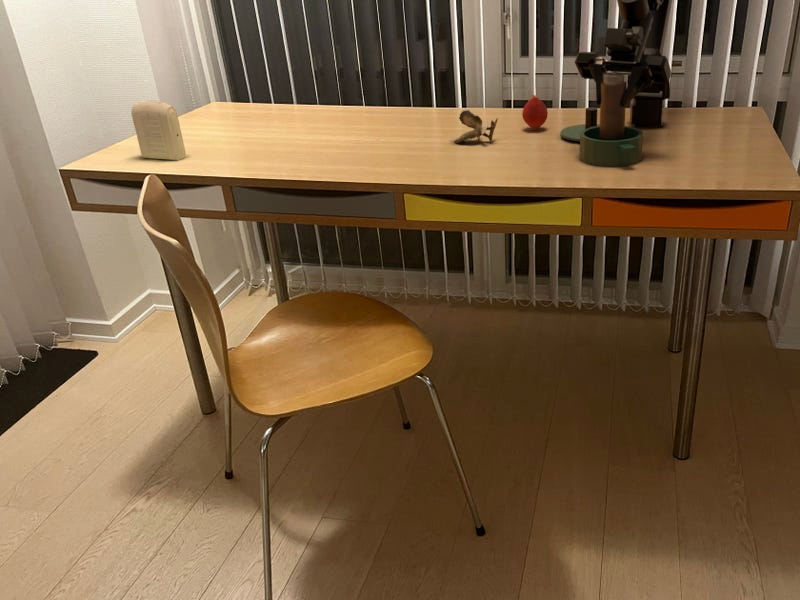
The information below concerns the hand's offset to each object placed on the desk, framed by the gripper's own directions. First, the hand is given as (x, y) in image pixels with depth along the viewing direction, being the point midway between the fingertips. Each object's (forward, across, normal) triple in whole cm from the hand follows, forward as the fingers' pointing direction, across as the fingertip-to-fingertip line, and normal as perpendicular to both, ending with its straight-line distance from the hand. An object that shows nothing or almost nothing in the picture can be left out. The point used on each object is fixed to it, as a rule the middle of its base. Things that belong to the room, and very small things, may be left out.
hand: (610, 104), depth 159 cm
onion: (-3, -25, +19) cm, 31 cm away
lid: (-3, -10, +18) cm, 21 cm away
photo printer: (+32, -92, -17) cm, 99 cm away
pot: (+7, 0, +9) cm, 11 cm away
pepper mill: (+4, 0, +6) cm, 7 cm away
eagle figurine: (+6, -33, +9) cm, 35 cm away
